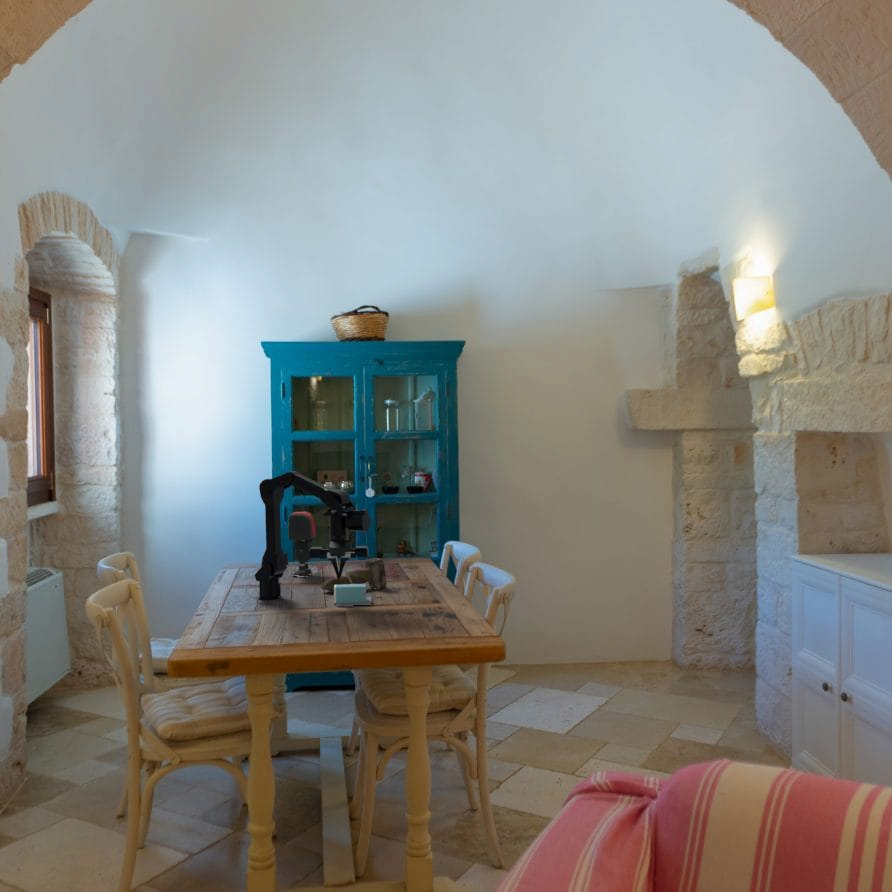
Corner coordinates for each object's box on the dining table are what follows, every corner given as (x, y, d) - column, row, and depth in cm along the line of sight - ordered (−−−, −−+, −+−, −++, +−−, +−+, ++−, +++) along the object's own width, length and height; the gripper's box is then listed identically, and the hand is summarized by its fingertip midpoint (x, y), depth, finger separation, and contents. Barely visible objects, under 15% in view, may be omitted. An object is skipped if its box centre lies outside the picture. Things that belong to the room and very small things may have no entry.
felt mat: (336, 606, 263) (336, 605, 263) (338, 599, 275) (338, 597, 275) (371, 605, 264) (371, 604, 264) (371, 598, 276) (371, 596, 276)
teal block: (333, 587, 266) (365, 586, 267) (334, 584, 271) (365, 583, 272) (334, 603, 266) (365, 602, 267) (334, 600, 271) (365, 599, 272)
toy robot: (297, 570, 334) (296, 495, 333) (320, 570, 333) (318, 495, 333) (284, 580, 312) (283, 500, 311) (309, 580, 311) (307, 499, 311)
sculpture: (342, 617, 293) (317, 585, 289) (389, 575, 301) (365, 543, 297) (349, 621, 286) (324, 588, 282) (397, 578, 294) (372, 545, 290)
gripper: (306, 533, 260) (307, 584, 260) (367, 532, 261) (367, 582, 262) (309, 529, 271) (310, 577, 271) (367, 528, 272) (368, 576, 273)
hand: (338, 578), depth 269 cm, fingers closed
